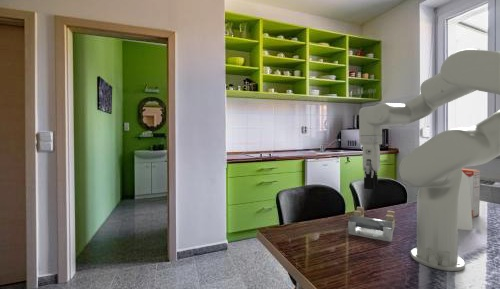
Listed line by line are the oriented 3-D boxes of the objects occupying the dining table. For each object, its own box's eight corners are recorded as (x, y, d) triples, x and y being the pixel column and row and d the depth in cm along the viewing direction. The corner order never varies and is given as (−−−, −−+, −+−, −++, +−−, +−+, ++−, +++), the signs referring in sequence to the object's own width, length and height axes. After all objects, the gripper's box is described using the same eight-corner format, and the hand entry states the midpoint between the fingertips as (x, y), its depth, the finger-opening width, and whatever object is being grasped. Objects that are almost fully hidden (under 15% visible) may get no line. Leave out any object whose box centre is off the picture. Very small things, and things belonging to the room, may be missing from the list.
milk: (435, 227, 100) (436, 161, 99) (425, 218, 111) (425, 159, 110) (472, 230, 96) (473, 162, 96) (457, 220, 107) (458, 159, 106)
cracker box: (437, 209, 124) (438, 167, 123) (445, 208, 126) (445, 166, 126) (472, 217, 111) (473, 170, 110) (480, 215, 114) (480, 169, 113)
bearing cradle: (393, 232, 95) (393, 216, 95) (353, 225, 102) (353, 211, 102) (394, 226, 101) (394, 211, 101) (357, 220, 109) (357, 206, 109)
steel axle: (391, 235, 88) (391, 224, 87) (349, 227, 96) (349, 217, 95) (392, 229, 91) (392, 219, 91) (351, 223, 99) (351, 213, 98)
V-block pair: (391, 241, 86) (391, 228, 86) (348, 233, 94) (348, 221, 94) (392, 234, 93) (392, 222, 93) (352, 227, 101) (352, 216, 101)
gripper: (379, 140, 83) (379, 192, 84) (384, 140, 98) (384, 184, 98) (355, 140, 87) (355, 189, 88) (363, 140, 102) (363, 182, 102)
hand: (371, 186), depth 93 cm, fingers open, 9 cm apart
